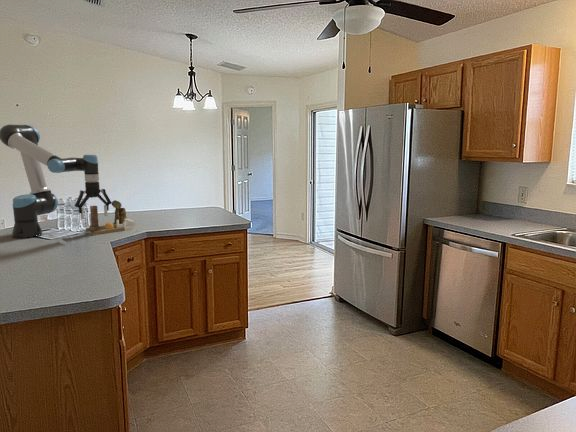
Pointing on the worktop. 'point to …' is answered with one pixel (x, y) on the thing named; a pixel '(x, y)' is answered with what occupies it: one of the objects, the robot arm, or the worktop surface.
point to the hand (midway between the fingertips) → (94, 217)
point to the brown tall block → (94, 219)
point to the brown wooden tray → (116, 228)
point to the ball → (109, 226)
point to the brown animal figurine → (119, 212)
